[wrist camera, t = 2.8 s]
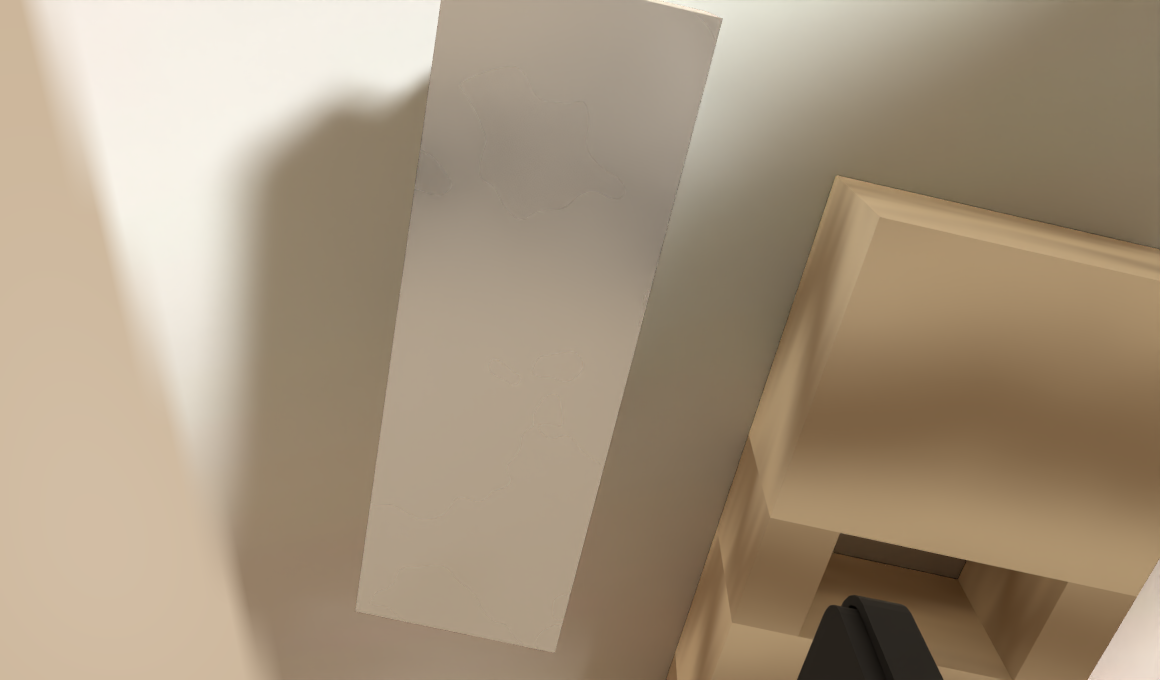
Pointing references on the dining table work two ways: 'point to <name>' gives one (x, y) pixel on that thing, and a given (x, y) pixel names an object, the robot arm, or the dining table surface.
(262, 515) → the dining table surface
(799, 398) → the rail
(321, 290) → the dining table surface
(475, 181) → the grey arched block
